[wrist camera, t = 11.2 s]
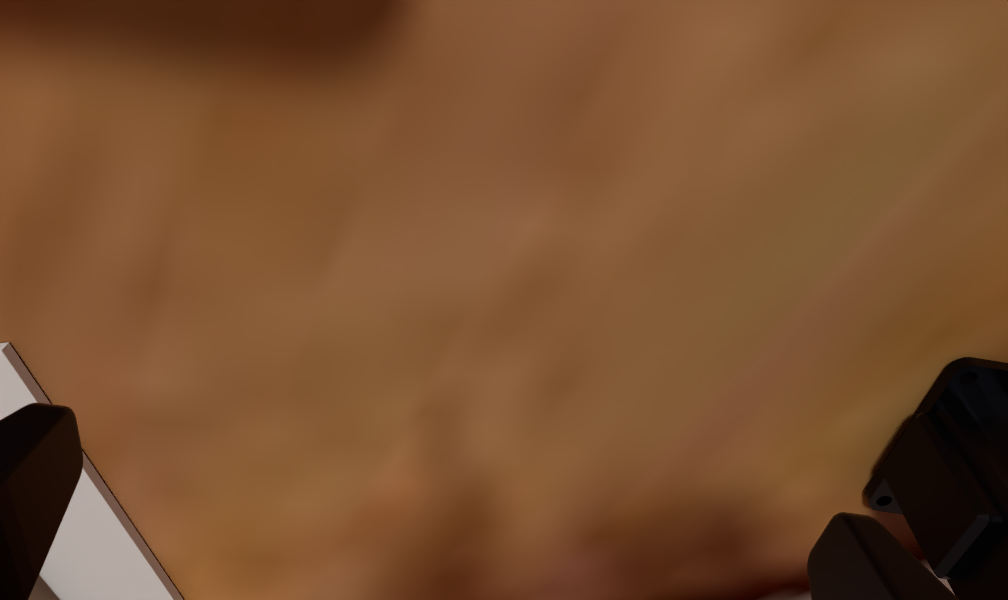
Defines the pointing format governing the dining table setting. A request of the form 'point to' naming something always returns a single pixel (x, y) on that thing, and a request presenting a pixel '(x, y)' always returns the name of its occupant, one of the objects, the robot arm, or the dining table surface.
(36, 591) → the long brown bar
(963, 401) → the robot arm
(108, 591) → the mat
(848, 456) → the dining table surface
